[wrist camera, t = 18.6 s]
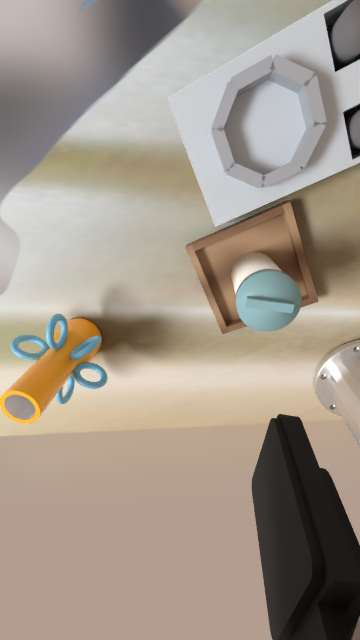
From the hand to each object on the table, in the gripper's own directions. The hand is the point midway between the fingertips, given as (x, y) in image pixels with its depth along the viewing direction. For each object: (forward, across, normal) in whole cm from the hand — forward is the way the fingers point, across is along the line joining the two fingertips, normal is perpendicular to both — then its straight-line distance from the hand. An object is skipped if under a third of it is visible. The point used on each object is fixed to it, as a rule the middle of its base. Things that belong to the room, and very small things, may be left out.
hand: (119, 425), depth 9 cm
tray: (+29, -8, +1) cm, 30 cm away
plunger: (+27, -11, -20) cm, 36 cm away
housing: (+29, -8, -14) cm, 33 cm away
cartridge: (+28, -8, +1) cm, 29 cm away
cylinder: (+29, +14, +14) cm, 35 cm away
